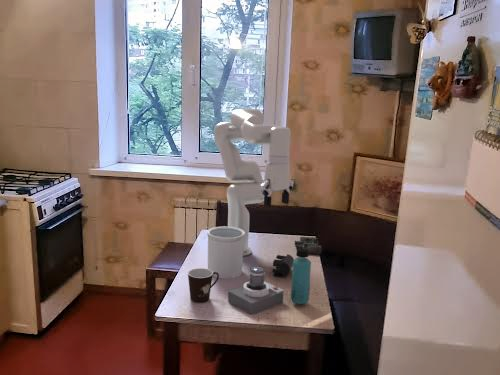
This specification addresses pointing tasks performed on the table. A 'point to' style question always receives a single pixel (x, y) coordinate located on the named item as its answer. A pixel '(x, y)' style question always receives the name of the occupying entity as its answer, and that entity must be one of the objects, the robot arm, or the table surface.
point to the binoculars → (309, 245)
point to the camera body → (255, 297)
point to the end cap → (282, 265)
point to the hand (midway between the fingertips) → (276, 204)
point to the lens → (256, 278)
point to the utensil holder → (225, 251)
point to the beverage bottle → (301, 277)
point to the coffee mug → (200, 284)
